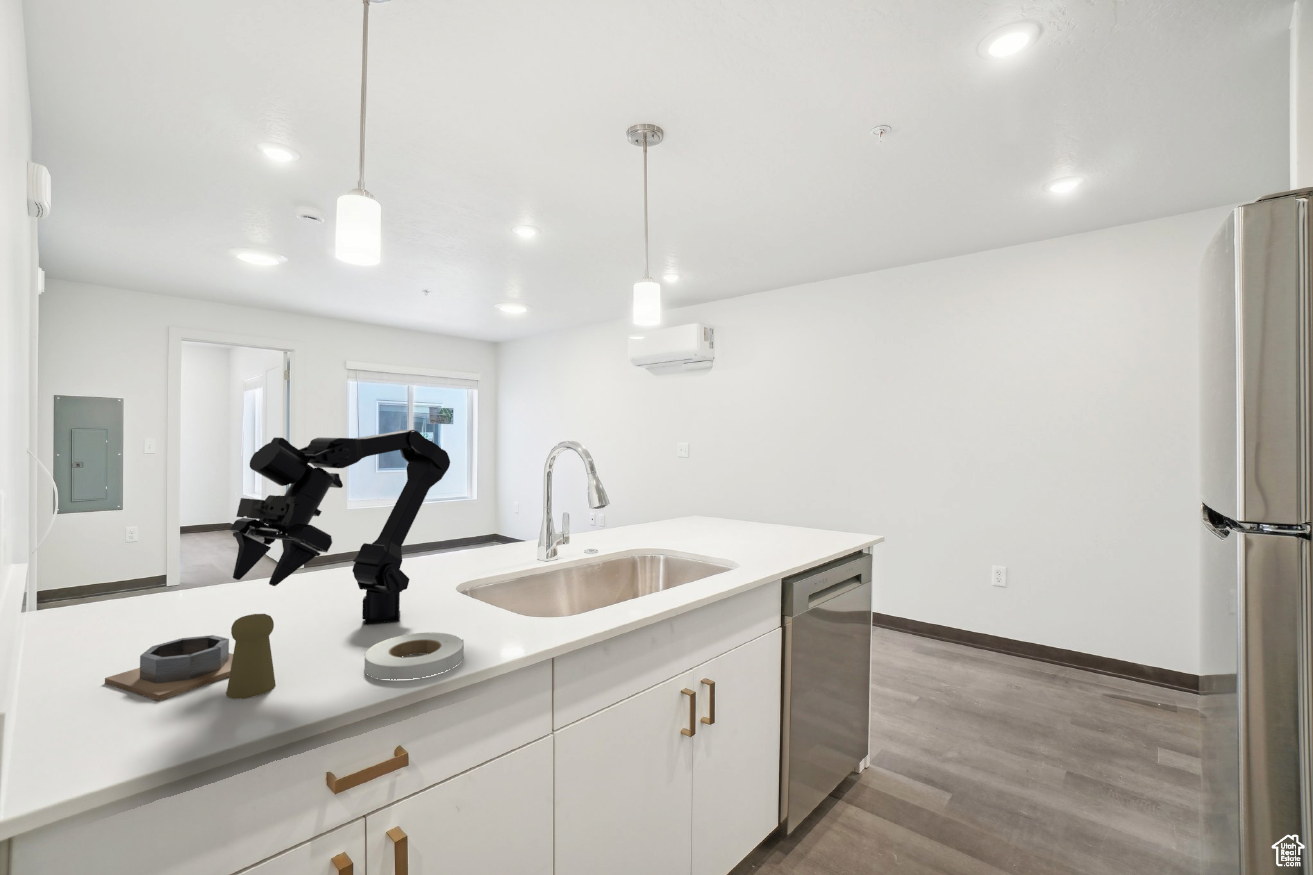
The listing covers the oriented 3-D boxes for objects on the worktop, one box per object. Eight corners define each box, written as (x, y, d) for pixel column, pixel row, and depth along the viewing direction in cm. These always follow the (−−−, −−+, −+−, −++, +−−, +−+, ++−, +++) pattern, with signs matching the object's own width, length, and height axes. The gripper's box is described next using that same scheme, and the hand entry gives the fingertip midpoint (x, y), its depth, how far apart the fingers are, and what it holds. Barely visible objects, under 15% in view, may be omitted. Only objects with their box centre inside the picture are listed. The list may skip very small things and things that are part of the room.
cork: (285, 682, 88) (287, 610, 88) (253, 700, 82) (255, 623, 82) (249, 679, 88) (250, 608, 88) (215, 697, 82) (217, 621, 82)
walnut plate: (207, 652, 99) (207, 647, 99) (260, 665, 94) (260, 660, 94) (104, 683, 86) (104, 677, 86) (159, 700, 81) (159, 695, 81)
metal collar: (201, 653, 96) (202, 632, 96) (239, 663, 93) (240, 641, 93) (128, 675, 87) (129, 652, 87) (167, 687, 83) (167, 663, 83)
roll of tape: (387, 692, 85) (387, 673, 85) (350, 663, 96) (350, 646, 96) (480, 664, 97) (481, 647, 97) (438, 641, 107) (438, 626, 107)
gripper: (230, 474, 100) (172, 558, 92) (302, 478, 92) (247, 570, 85) (282, 503, 108) (234, 582, 100) (352, 509, 101) (306, 594, 93)
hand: (253, 582), depth 94 cm, fingers open, 9 cm apart
